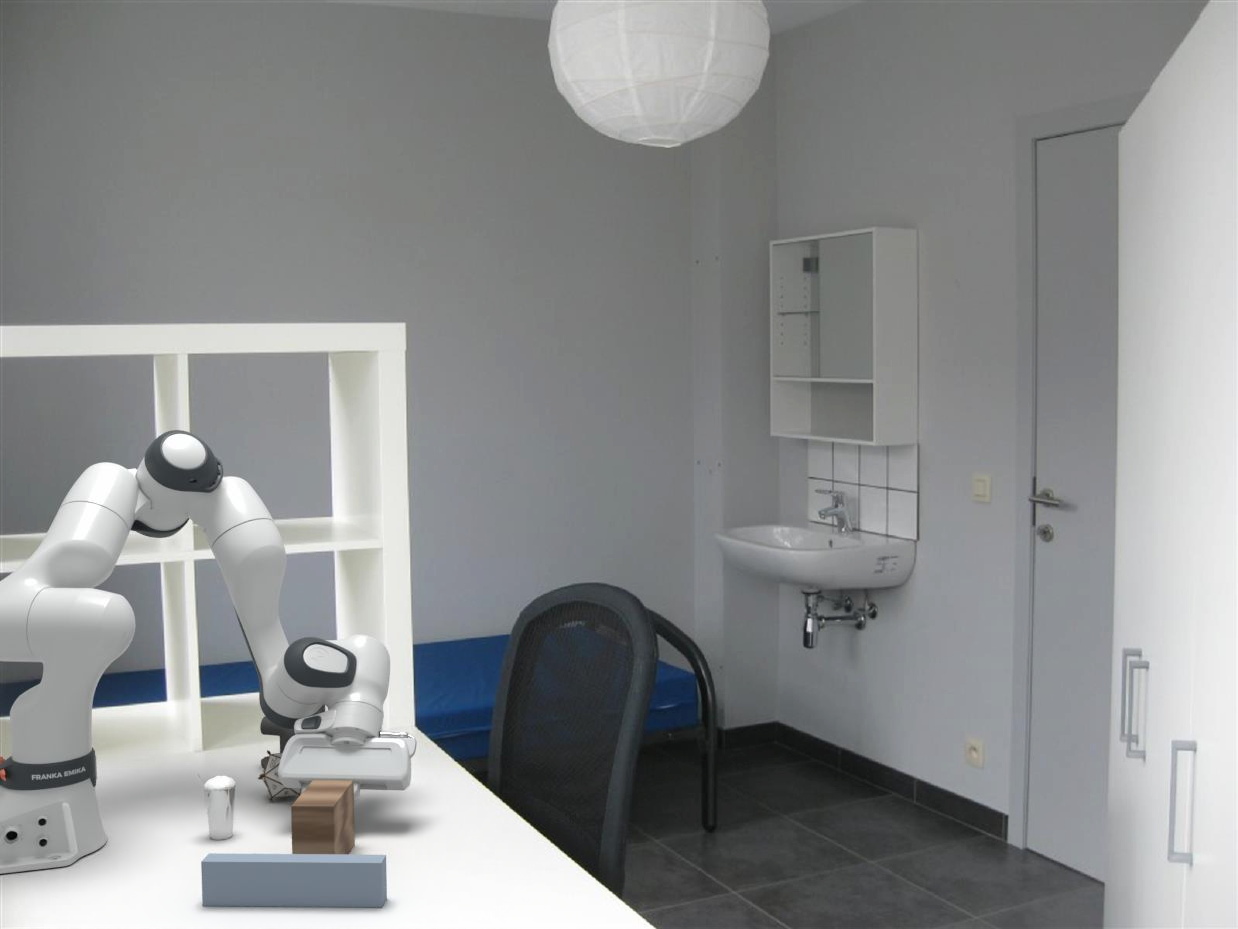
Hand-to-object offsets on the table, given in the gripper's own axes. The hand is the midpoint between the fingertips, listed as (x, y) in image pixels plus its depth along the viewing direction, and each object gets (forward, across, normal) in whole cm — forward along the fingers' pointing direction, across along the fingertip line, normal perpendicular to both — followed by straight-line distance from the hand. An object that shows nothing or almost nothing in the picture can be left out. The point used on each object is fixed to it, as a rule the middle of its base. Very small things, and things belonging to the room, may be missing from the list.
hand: (337, 813), depth 203 cm
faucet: (-25, +15, -32) cm, 43 cm away
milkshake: (+3, +18, -3) cm, 19 cm away
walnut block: (+9, 0, +3) cm, 10 cm away
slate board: (+20, 0, +15) cm, 24 cm away
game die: (-10, +14, -16) cm, 23 cm away
